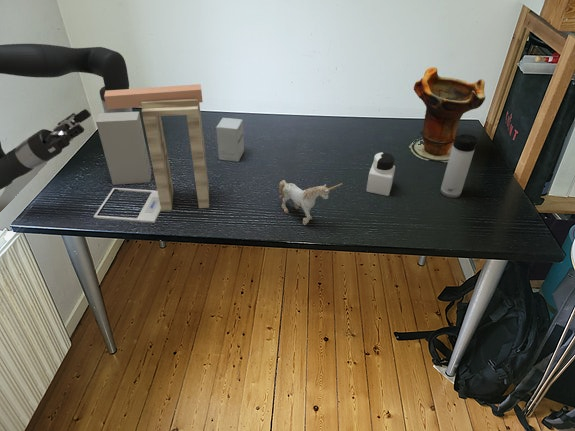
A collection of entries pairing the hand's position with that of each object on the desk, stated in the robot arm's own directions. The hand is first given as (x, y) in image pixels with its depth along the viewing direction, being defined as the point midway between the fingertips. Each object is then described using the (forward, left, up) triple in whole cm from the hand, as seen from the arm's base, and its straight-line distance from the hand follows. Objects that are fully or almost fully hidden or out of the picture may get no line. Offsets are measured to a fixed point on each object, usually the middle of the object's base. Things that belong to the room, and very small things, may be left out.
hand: (85, 119), depth 121 cm
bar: (0, +19, +4) cm, 19 cm away
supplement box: (-24, +38, -28) cm, 53 cm away
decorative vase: (-20, +111, -28) cm, 116 cm away
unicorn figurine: (+11, +59, -28) cm, 66 cm away
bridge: (0, +23, -28) cm, 36 cm away
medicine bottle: (+1, +84, -28) cm, 88 cm away
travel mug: (+6, +106, -28) cm, 110 cm away
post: (-13, +5, -28) cm, 31 cm away
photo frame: (+1, +7, -29) cm, 30 cm away
